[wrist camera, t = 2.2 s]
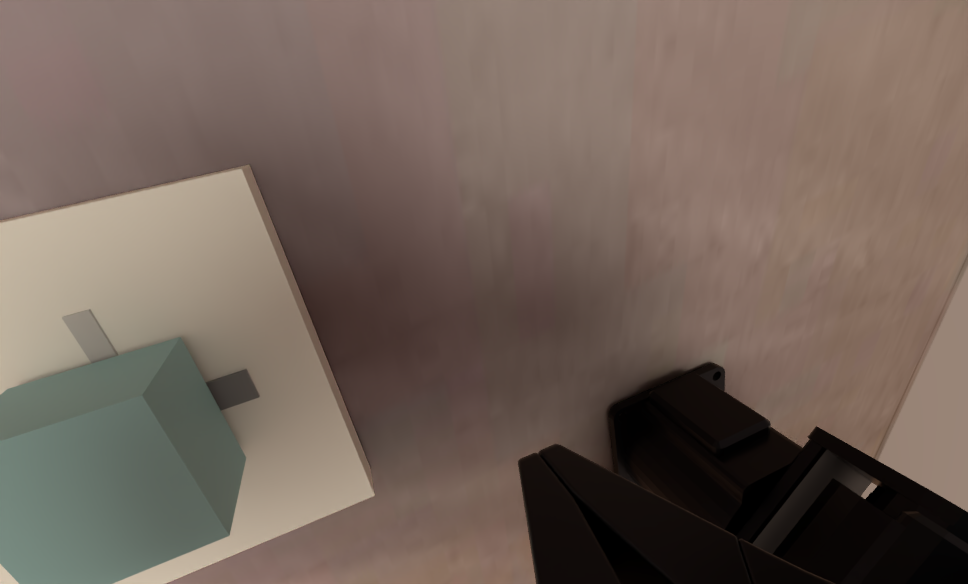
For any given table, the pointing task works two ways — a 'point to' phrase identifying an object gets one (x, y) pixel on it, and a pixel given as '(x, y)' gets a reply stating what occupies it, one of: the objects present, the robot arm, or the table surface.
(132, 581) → the fader panel
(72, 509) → the fader tab
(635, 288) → the table surface
